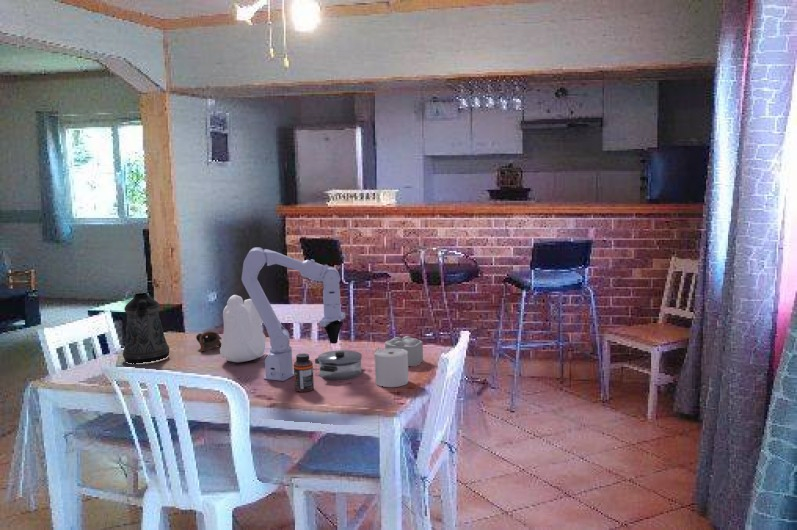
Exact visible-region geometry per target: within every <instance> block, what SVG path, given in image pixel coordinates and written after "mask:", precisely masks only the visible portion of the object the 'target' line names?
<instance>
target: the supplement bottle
mask: <svg viewBox="0 0 797 530" xmlns="http://www.w3.org/2000/svg"><path fill="white" fill-rule="evenodd" d="M295 357H296V358H295V360H296V361H294V363H293V371H294V376H293V379H294V390H295V391H296V392H298V391H299V392H298V393H307V391H308V392H311V391H312V390H314V387H315V385H314V384H315V383H314V368H313V367H314V364H313V363H314V362H313V361H311V360H310V354H308V353H299V354H296V356H295Z"/></svg>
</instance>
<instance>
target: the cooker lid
mask: <svg viewBox="0 0 797 530" xmlns="http://www.w3.org/2000/svg"><path fill="white" fill-rule="evenodd" d="M362 357H363V355H362V353H361V352H359V351H355V350H345V349H343V350H341V349H340V350H339V349H337V350H330V351H326V352H323V353H321V354H319V355H318V357H317V358H318V361H319V362H321V363H323V364H328V365H346V364H352V363H356V362H358V361H360V360H361V361H362Z"/></svg>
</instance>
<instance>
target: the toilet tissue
mask: <svg viewBox="0 0 797 530" xmlns="http://www.w3.org/2000/svg"><path fill="white" fill-rule="evenodd" d="M374 374H375V384H376V386H379V387H382V386H383V387H384V388H398V387H402V386H406V385H407V384H409V382H410V381H409V367H408V352H407V351H406V350H404V349H399V348H388V349H385V348H383V349H382V348H381V349H380V347H377V348H375V350H374Z"/></svg>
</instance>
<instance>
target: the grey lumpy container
mask: <svg viewBox="0 0 797 530" xmlns="http://www.w3.org/2000/svg"><path fill="white" fill-rule="evenodd" d="M384 345H385V346H384V347H385V348H384V349H388V348H399V349H404V350H406V351H407V352H408V366H415V367H418V366H419V365H420V364H422V363H423V362H424V347H423V345H424V344H423V340H420V339H418V338H413V337H411V336H410V335H406V336H403V337H399V336H395V337H393V338H392V339H388V340H386V341H385V342H384ZM421 362H422V363H421ZM419 363H420V364H419ZM417 365H418V366H417Z"/></svg>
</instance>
